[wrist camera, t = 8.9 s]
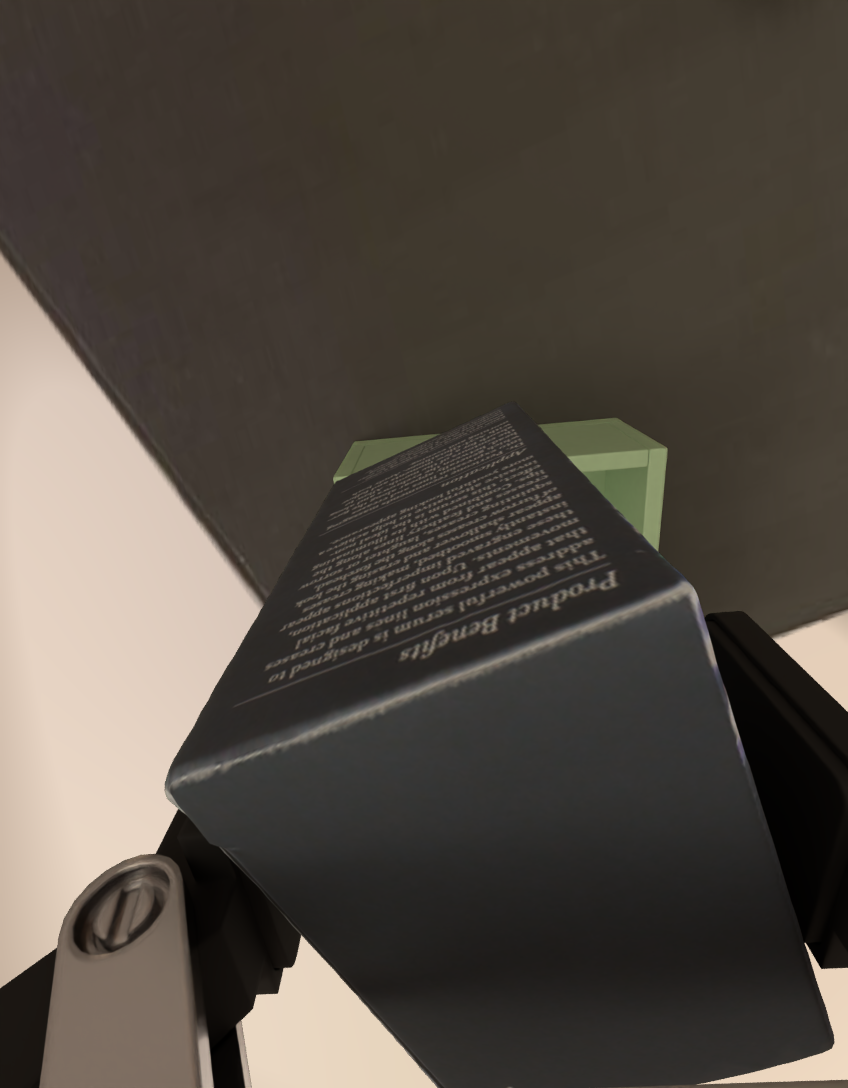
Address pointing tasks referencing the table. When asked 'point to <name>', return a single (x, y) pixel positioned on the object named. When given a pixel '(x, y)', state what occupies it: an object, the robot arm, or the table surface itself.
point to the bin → (594, 448)
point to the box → (506, 781)
